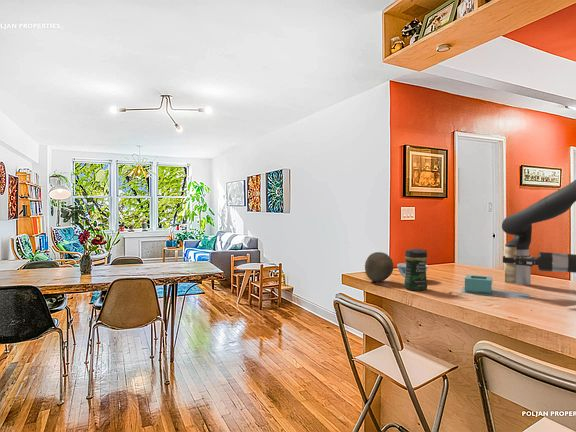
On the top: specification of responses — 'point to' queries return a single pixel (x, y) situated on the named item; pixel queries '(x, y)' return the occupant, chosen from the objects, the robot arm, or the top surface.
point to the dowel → (510, 267)
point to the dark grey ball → (378, 266)
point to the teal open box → (478, 284)
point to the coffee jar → (415, 269)
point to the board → (505, 294)
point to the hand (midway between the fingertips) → (503, 259)
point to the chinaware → (404, 268)
